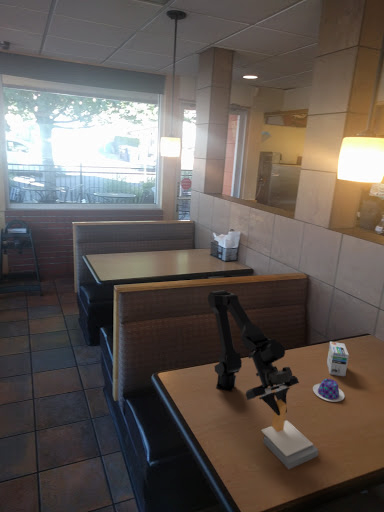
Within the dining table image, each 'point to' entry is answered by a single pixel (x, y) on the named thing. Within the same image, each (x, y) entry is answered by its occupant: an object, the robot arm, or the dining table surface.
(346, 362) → the light bulb box
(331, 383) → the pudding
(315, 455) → the gray carton
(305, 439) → the lid
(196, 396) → the dining table surface
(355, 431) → the dining table surface
